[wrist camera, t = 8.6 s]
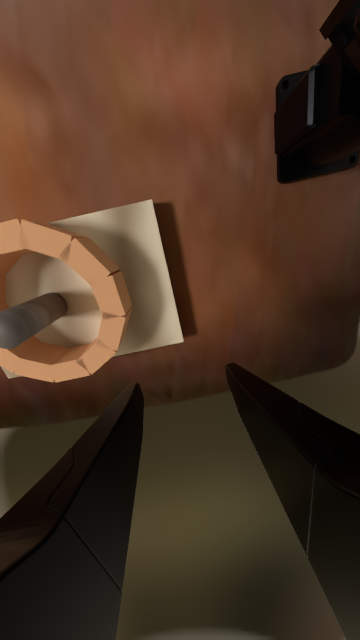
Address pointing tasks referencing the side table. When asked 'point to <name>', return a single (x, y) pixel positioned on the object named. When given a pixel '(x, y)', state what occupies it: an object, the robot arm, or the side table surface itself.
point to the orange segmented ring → (96, 269)
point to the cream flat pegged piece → (77, 295)
